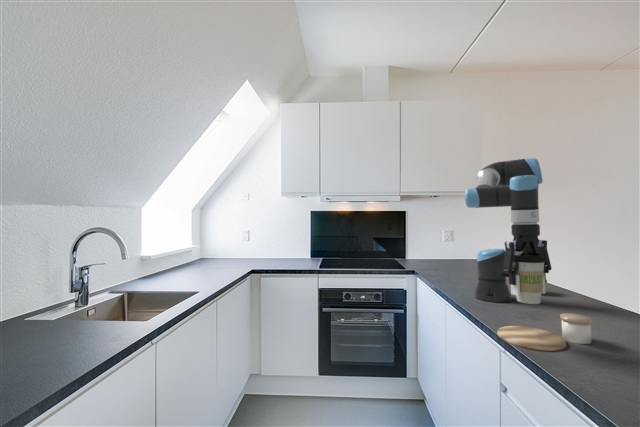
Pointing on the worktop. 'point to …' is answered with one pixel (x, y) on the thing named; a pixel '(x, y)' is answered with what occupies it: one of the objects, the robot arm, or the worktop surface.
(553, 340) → the round wooden board
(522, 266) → the coffee cup
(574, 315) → the sugar jar
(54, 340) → the worktop surface
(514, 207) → the robot arm
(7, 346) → the worktop surface
